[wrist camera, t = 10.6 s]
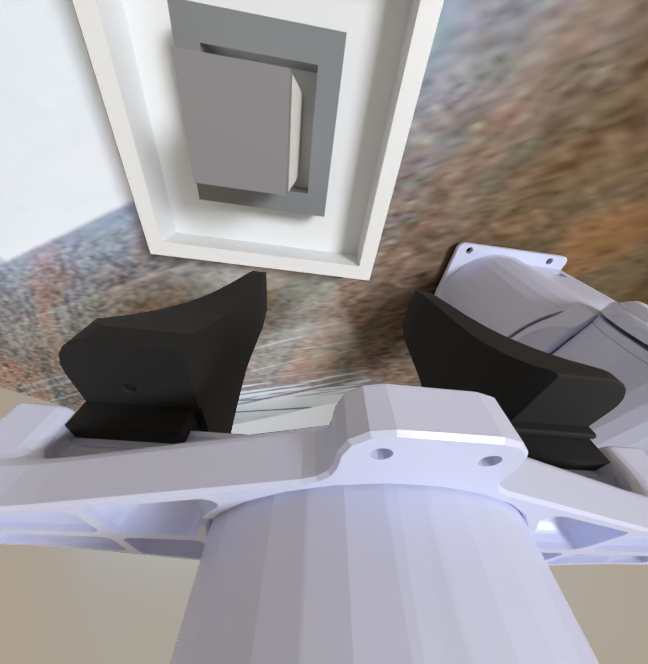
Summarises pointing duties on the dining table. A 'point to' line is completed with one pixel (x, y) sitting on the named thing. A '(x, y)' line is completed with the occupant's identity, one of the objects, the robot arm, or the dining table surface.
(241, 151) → the connector plug
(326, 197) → the inlet box
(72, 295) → the dining table surface
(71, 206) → the dining table surface
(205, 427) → the robot arm
